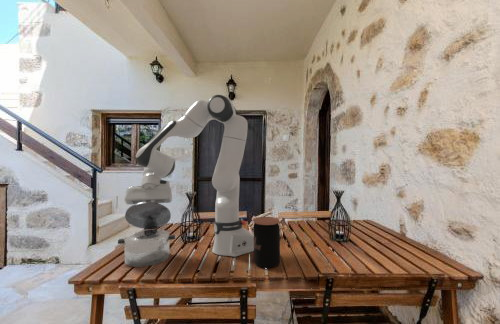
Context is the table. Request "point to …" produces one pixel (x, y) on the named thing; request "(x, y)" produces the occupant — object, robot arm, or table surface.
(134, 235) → the pot
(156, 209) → the lid
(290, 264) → the table surface
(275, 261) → the coffee jar
